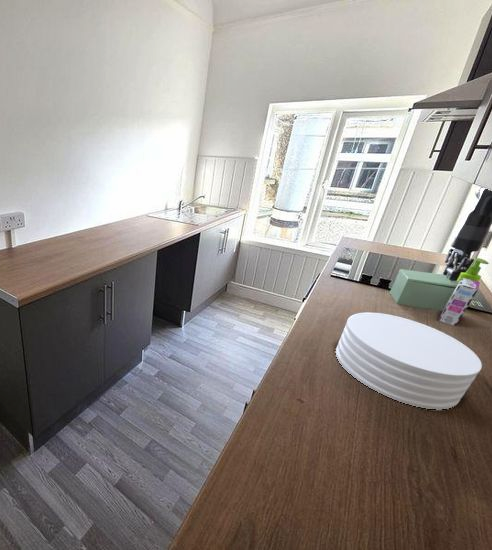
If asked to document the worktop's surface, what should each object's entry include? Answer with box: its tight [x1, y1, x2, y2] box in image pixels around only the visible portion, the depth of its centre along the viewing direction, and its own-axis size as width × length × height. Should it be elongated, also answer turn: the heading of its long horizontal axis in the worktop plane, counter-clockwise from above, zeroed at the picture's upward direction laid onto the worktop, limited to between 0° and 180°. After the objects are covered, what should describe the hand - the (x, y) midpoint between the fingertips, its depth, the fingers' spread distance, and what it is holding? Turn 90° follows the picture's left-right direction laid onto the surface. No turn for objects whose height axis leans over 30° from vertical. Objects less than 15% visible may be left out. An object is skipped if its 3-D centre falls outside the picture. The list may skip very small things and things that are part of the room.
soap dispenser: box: [457, 257, 490, 282], centre depth 123 cm, size 6×7×20 cm
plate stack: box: [334, 311, 483, 411], centre depth 84 cm, size 28×28×12 cm
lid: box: [399, 267, 459, 287], centre depth 121 cm, size 16×12×5 cm
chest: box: [389, 270, 456, 312], centre depth 124 cm, size 16×12×11 cm
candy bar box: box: [437, 278, 481, 327], centre depth 110 cm, size 11×5×16 cm, turn 130°
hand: (449, 277), depth 118 cm, fingers closed on lid, 5 cm apart
